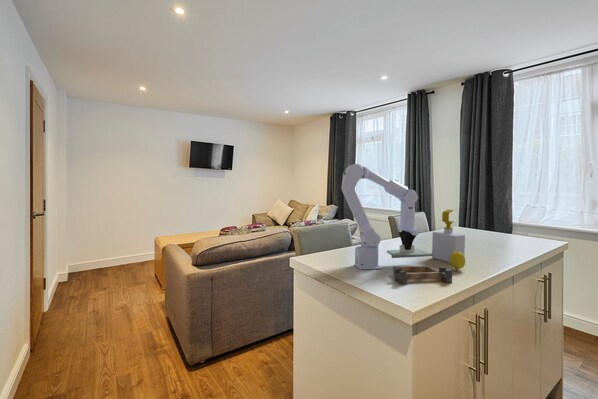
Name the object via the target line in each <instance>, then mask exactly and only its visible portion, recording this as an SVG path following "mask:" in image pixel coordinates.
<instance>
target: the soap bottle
mask: <svg viewBox="0 0 598 399" xmlns="http://www.w3.org/2000/svg"><path fill="white" fill-rule="evenodd" d="M452 212H454V209H446V210H444V211H442V213H441V216H442V217H441V220H442V223H444V224H445V226H444V227H443V230H437V231H432V240H431V242H432V244H431V245H432V246H431V253H433V256H431V259H435V260H438V261H442V262H446V263H448V264H450V256H451V254H452V253H453V252H456V251H459V252H461V253H462V254H463V255H464V256H466V255H465V252H466V251H465V248H466V244H465V243H466V235H465V234H462V233H457V232H456V233H455V232H453V231H454V228H453V227H452V225H453V223H455V222H454V220H453V221H452V220H450V213H452Z"/></svg>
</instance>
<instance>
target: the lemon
mask: <svg viewBox="0 0 598 399" xmlns="http://www.w3.org/2000/svg"><path fill="white" fill-rule="evenodd" d="M449 264H450V266H451V267H452V268H453V269H455V270H456V271H459V270H461V269H463V268H464V267H465V265H466V257H465V255H463V254H462V253H461V252H459V251H456V252H453V253H452V254H451V256H450V263H449Z"/></svg>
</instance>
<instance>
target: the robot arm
mask: <svg viewBox="0 0 598 399" xmlns="http://www.w3.org/2000/svg"><path fill="white" fill-rule="evenodd" d="M365 179H366V180H369V181H371V182H373V183H375V184H377V185H379V186H381V187H383V188H384V191H385V192H386V193H387V194H389V195H391V196H394V197H395V198H397V199H398V200H399V201H400V216H399V218H400V222H399V225H397V230H398V236H399V238H400V241H401V245H404V246H405V250H411V246H412V244H414V243H413V242H414V241H415V239H416V237H417V236H419V230H418V227H416V226H415V225H416V224H415V223H416V202H417V201H418V199H419V195H418V193H417V191H416V190H414V189H411V188H409V186H408V185H403V184H401V183H400V182H399V180H397V179H390V180H388V179H386V178H385V177H383V176H381V175H380V174H378V173H376V172H375V171H373V170H371V169H370V168H368V167H366V166H362V165H361V164H359V163H354V164H351V165H348V166H347V167H346V168H345V170H344V171H343V172H342V182H341V186H340V187H341V192H342V193H343V197H344V198H345V200H346V203H347V205H348V206H349V207H348V208H349V209H350V210H351V213H352V216H353V217H354V220H355V222H356V224H357V227H358V232H359V237H360V240H361V241H362V242H361V243H360V245H359V246H358V245H357V246H355V249H354V266H356V267H357V269H359V270H382V266H380V265H379V250H380V249H379V245H380V243H381V236H380V235H379V233H377V232H376V230H375V229H374V227H373V226H372V224H371V222H370V221H369V218H368V216H367V214H366V211H365V209H364V207H363V205H362V203H361V200H360V198H359V196H358V194H357V192H356V190H355V189H356V186H357V184H358V182H359V181H360V180H365Z"/></svg>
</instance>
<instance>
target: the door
mask: <svg viewBox="0 0 598 399" xmlns="http://www.w3.org/2000/svg"><path fill="white" fill-rule="evenodd" d="M386 253H387V254H389V255H390V256H391V258H392V259H401V258H420V257H424V258H425V257H432V256H433V253H432V252H425V251H424V250H421V249H418V248H415V244H414V243H412V246H411V250H405V246H404V245H402V244H400V245H399V249H387V250H386Z"/></svg>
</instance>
